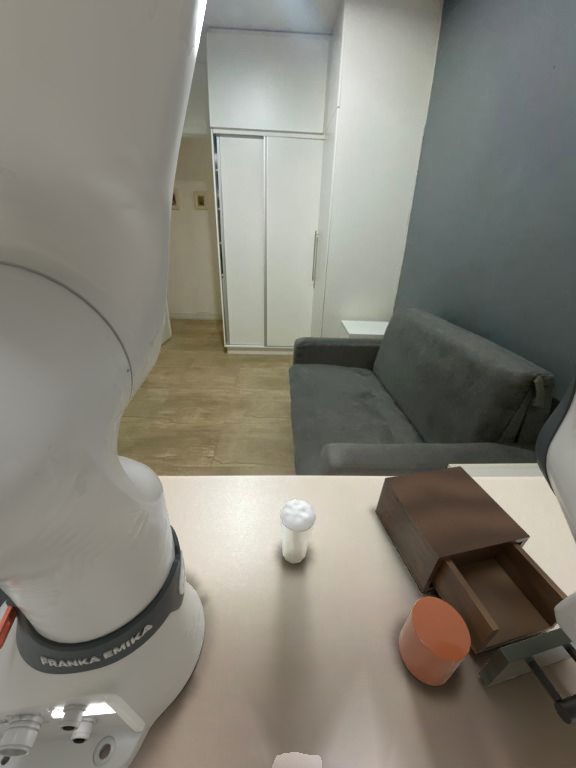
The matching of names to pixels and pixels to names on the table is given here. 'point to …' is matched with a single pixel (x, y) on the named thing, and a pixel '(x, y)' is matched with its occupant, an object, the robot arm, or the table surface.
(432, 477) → the cabinet
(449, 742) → the table surface
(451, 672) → the orange cylinder puck
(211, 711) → the table surface
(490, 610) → the drawer
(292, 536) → the milkshake
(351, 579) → the table surface
